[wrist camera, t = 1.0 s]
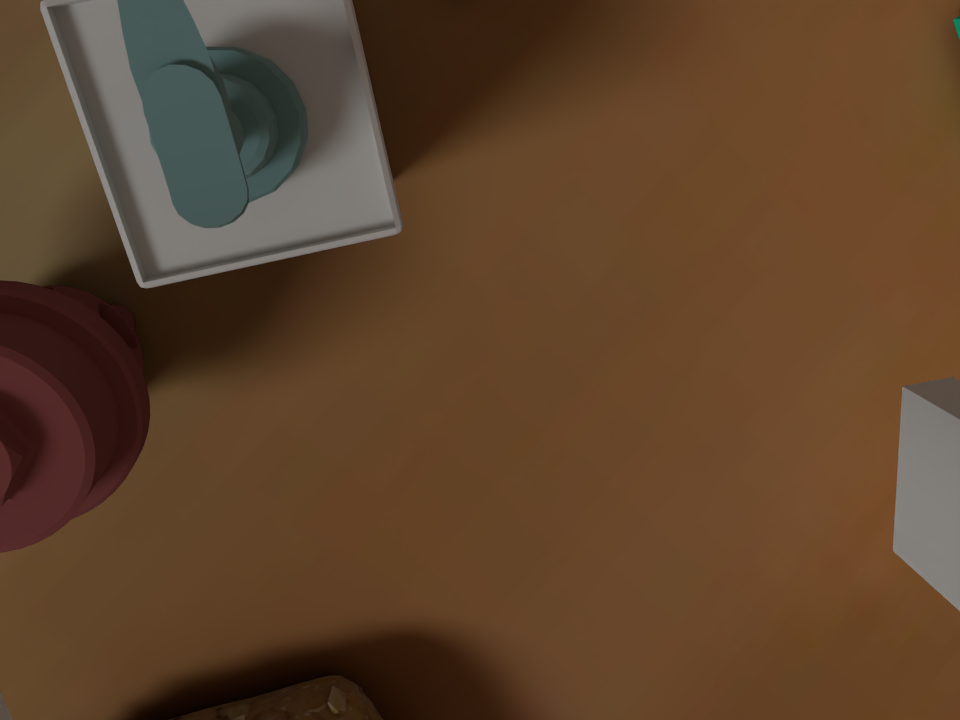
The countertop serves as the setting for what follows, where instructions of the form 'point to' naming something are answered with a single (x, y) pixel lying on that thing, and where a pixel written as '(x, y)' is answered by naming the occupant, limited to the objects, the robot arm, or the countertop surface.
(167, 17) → the soap bottle
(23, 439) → the mechanical component
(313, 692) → the bread
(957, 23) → the camera mount
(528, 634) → the countertop surface
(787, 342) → the countertop surface
